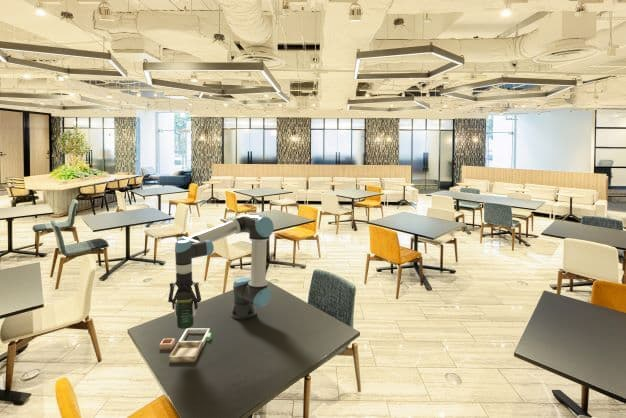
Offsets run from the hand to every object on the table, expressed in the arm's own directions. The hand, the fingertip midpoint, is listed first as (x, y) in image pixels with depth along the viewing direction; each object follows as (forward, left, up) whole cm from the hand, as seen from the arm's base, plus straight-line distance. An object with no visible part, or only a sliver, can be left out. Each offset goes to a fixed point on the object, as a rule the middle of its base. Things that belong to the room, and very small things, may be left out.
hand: (185, 315), depth 185 cm
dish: (+12, -5, -20) cm, 24 cm away
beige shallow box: (0, +2, -20) cm, 20 cm away
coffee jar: (0, 0, -6) cm, 6 cm away
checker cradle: (0, -13, -20) cm, 24 cm away
